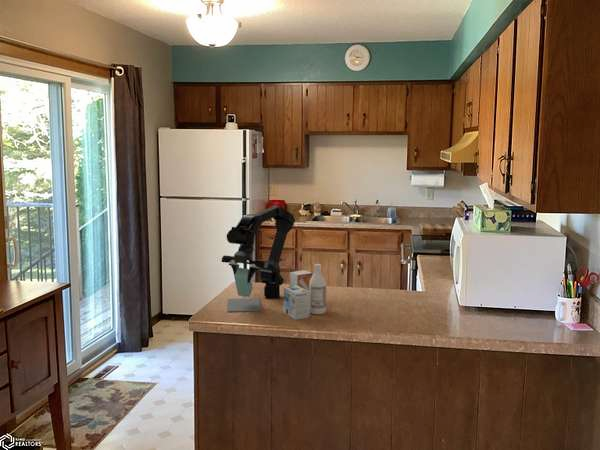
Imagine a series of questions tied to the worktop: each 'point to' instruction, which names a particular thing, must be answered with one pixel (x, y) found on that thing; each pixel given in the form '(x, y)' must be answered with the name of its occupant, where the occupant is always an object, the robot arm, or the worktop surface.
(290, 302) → the light bulb box
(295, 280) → the small box
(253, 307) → the mat
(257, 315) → the worktop surface
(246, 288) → the teal block
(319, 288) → the bath foam
